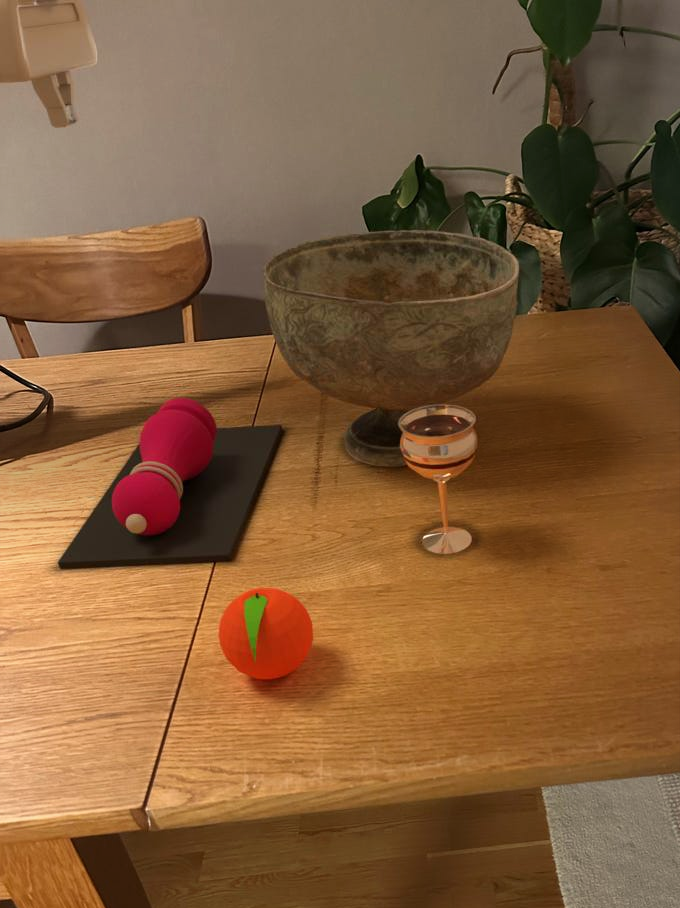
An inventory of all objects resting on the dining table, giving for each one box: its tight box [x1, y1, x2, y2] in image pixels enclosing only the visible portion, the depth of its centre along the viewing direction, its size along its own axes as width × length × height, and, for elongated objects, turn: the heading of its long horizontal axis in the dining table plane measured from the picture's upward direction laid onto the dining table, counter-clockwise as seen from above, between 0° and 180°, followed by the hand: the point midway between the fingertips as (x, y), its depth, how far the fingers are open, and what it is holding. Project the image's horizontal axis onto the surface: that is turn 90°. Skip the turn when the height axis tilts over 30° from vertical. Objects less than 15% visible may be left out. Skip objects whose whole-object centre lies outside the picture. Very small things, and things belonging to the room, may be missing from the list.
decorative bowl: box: [261, 229, 520, 468], centre depth 90 cm, size 26×26×20 cm
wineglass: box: [398, 403, 478, 555], centre depth 75 cm, size 7×7×12 cm
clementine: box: [218, 587, 314, 680], centre depth 63 cm, size 8×7×7 cm
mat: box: [57, 424, 284, 570], centre depth 88 cm, size 16×28×1 cm, turn 1°
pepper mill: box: [112, 397, 218, 535], centre depth 83 cm, size 7×7×20 cm
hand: (65, 125), depth 89 cm, fingers closed
